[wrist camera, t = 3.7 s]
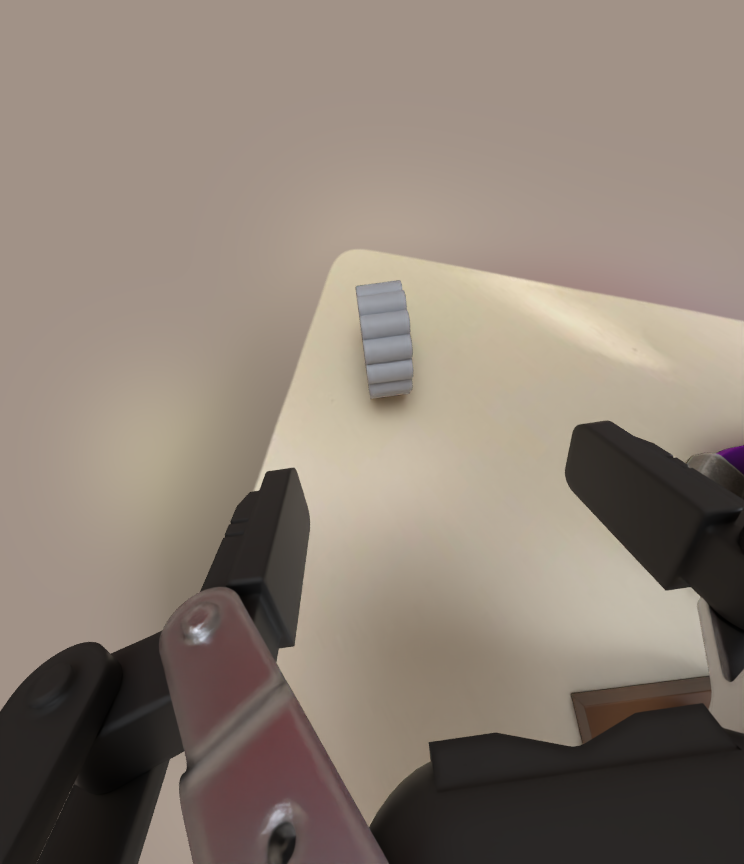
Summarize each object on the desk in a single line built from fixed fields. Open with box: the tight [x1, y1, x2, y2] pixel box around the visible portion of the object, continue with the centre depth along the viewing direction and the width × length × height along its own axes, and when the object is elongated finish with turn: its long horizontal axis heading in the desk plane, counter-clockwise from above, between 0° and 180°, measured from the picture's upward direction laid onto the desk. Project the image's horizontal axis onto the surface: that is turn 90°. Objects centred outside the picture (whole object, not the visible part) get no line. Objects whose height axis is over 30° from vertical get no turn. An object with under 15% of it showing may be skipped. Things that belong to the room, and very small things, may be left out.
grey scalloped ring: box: [356, 280, 413, 399], centre depth 24 cm, size 3×8×8 cm, turn 7°
